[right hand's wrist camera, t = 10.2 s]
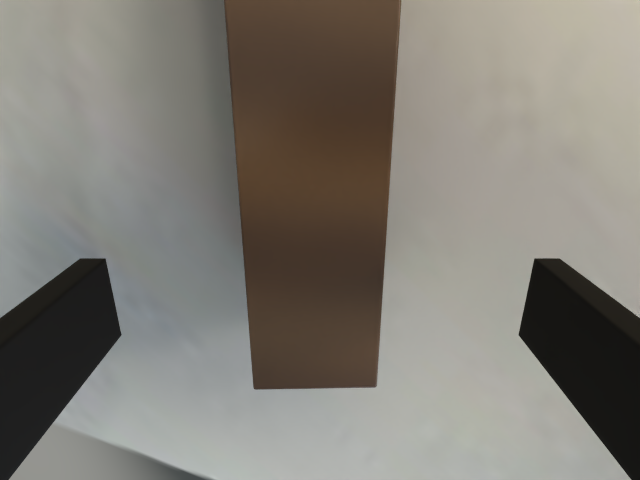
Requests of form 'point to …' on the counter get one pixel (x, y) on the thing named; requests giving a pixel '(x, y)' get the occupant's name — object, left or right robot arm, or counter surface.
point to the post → (313, 182)
